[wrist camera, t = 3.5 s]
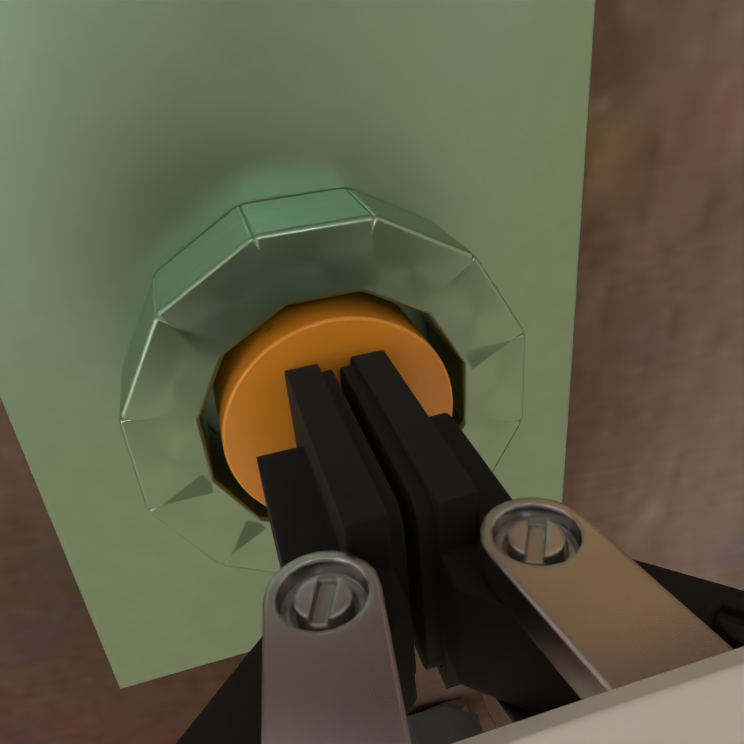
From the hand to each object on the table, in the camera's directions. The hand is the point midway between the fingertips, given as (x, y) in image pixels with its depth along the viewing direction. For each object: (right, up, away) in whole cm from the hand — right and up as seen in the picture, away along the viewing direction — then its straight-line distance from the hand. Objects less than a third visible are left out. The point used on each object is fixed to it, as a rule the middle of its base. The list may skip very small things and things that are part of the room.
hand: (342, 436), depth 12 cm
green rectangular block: (-1, +3, +4) cm, 5 cm away
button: (0, +1, +1) cm, 2 cm away
